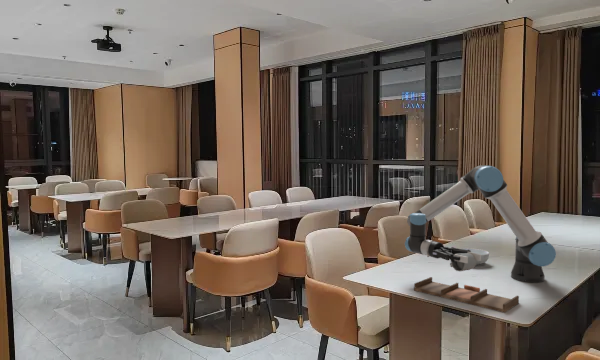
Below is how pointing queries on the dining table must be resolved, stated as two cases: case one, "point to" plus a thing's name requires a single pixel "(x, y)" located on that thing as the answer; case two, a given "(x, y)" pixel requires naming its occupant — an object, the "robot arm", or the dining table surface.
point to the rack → (466, 295)
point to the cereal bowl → (483, 253)
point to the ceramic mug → (464, 266)
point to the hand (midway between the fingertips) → (473, 258)
